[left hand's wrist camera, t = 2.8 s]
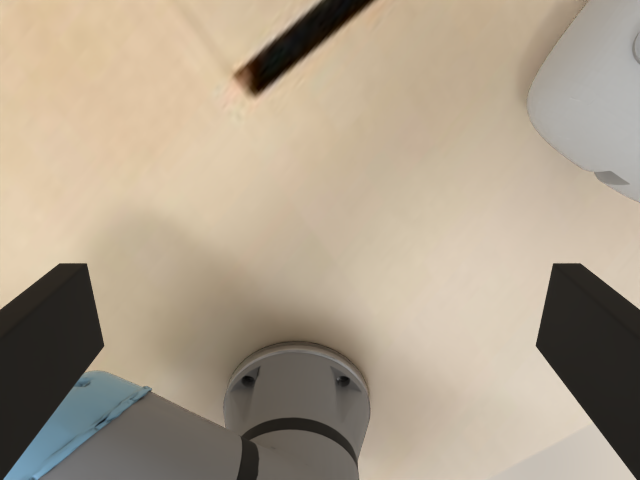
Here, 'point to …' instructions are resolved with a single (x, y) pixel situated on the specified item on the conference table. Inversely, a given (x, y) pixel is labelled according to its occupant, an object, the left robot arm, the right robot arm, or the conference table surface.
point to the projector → (594, 94)
